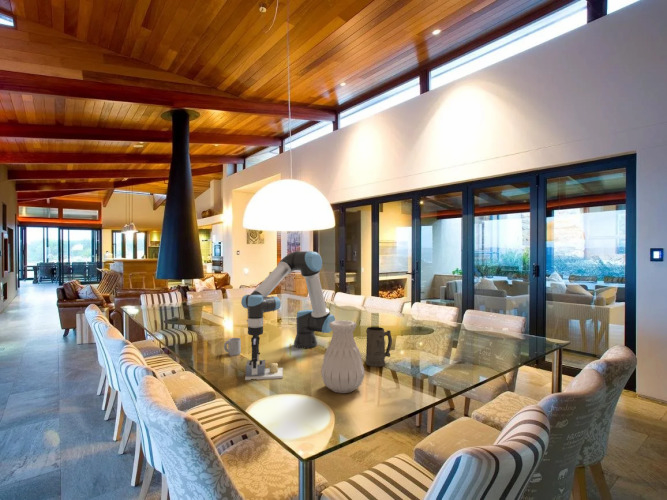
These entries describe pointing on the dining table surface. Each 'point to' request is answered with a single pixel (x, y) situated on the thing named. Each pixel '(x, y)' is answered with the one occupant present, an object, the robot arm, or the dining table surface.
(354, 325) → the vase
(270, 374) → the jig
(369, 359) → the beer stein
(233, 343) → the cup
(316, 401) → the dining table surface
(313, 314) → the robot arm
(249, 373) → the collar
